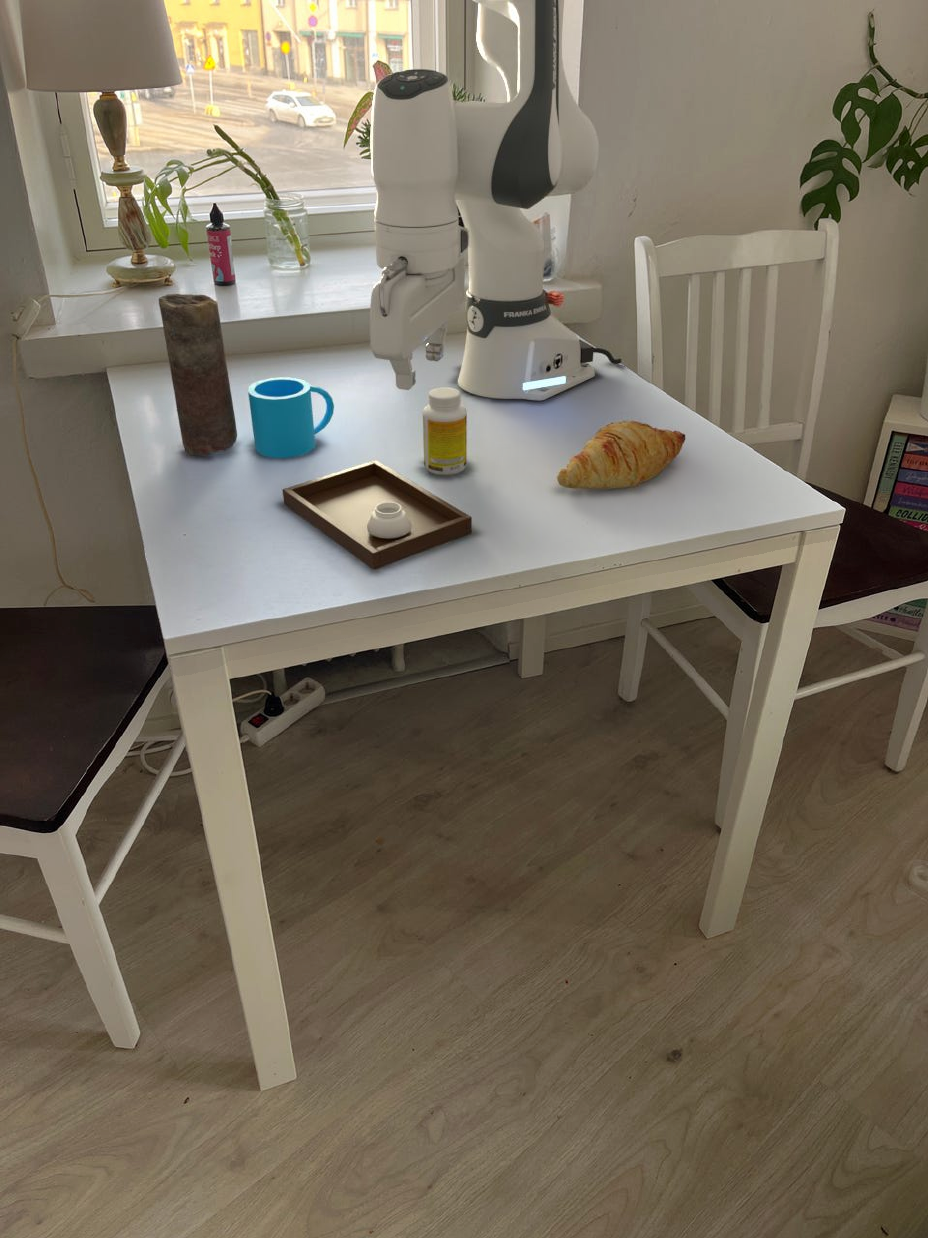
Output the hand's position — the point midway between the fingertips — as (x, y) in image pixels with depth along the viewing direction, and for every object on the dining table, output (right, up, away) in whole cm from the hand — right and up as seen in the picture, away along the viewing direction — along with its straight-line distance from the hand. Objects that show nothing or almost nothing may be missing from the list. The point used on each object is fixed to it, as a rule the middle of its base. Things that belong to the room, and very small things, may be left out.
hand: (421, 372), depth 110 cm
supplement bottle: (+2, -9, +16) cm, 18 cm away
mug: (-18, -4, +22) cm, 29 cm away
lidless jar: (-4, -18, 0) cm, 19 cm away
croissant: (+25, -9, +15) cm, 31 cm away
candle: (-30, -5, +21) cm, 36 cm away
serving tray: (-6, -16, +4) cm, 18 cm away
